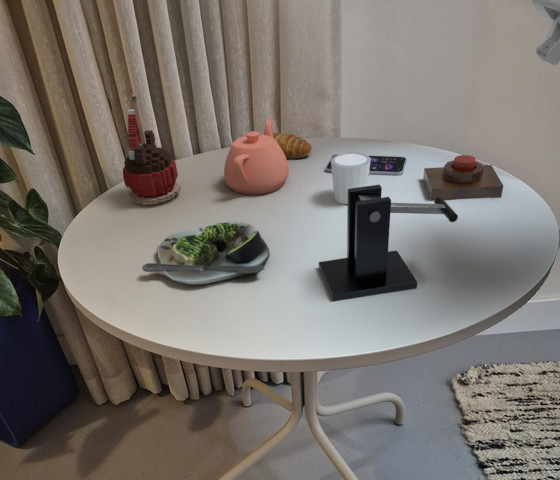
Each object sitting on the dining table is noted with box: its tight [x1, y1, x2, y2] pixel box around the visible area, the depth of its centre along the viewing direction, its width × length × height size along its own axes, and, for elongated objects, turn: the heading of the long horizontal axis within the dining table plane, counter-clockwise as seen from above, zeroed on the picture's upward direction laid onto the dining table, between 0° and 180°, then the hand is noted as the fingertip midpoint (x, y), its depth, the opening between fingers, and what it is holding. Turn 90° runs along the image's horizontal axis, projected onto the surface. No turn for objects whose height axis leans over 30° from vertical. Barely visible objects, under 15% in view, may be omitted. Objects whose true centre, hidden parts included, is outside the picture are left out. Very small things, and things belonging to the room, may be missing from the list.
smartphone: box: [325, 153, 408, 176], centre depth 113 cm, size 8×1×15 cm
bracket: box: [318, 184, 418, 302], centre depth 79 cm, size 12×9×13 cm
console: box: [422, 159, 504, 202], centre depth 101 cm, size 12×9×4 cm
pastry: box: [272, 132, 313, 160], centre depth 119 cm, size 9×7×4 cm
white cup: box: [331, 151, 371, 205], centre depth 101 cm, size 7×7×7 cm
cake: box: [122, 94, 181, 205], centre depth 103 cm, size 11×9×18 cm
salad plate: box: [142, 220, 271, 285], centre depth 88 cm, size 19×18×5 cm
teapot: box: [223, 117, 290, 195], centre depth 108 cm, size 12×18×10 cm
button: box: [453, 154, 477, 171], centre depth 100 cm, size 4×4×2 cm
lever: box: [357, 195, 459, 223], centre depth 77 cm, size 13×6×2 cm, turn 100°
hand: (544, 58), depth 67 cm, fingers closed
